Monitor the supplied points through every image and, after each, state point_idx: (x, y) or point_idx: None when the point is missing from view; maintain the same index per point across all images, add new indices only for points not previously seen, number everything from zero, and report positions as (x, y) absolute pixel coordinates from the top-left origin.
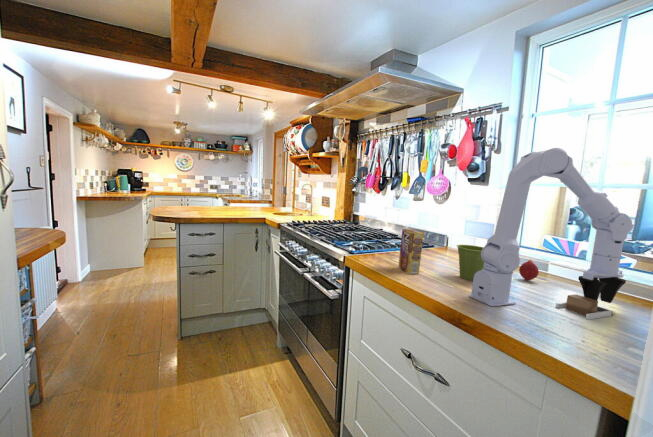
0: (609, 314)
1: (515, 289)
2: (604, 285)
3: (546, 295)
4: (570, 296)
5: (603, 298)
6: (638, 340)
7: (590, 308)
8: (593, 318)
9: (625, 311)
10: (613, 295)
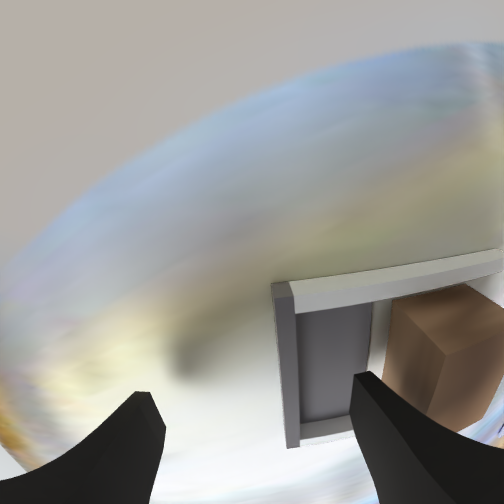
0: (312, 284)
1: (376, 497)
2: (469, 496)
3: (322, 483)
4: (486, 407)
5: (158, 433)
6: (488, 44)
7: (478, 308)
8: (468, 254)
9: (70, 319)
10: (118, 431)
